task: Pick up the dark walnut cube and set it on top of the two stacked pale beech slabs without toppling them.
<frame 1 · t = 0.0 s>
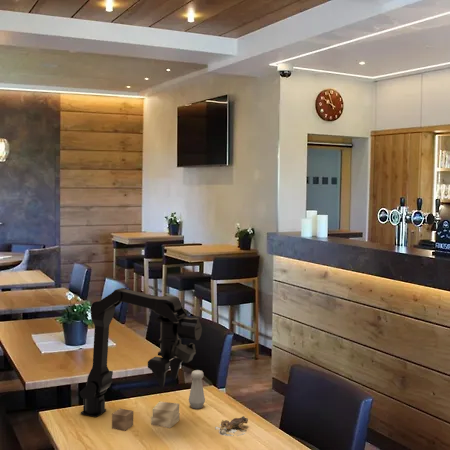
hand: (168, 383, 199), 15 cm above the table, fingers open, 9 cm apart
beech slab upper: (165, 415, 203), point 3 cm above the table, touching beech slab lower
salt shaker: (196, 407, 218), on the table
walnut cube: (122, 427, 199), on the table
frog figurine: (232, 430, 201), on the table
beech slab lower: (165, 423, 204), on the table, touching beech slab upper
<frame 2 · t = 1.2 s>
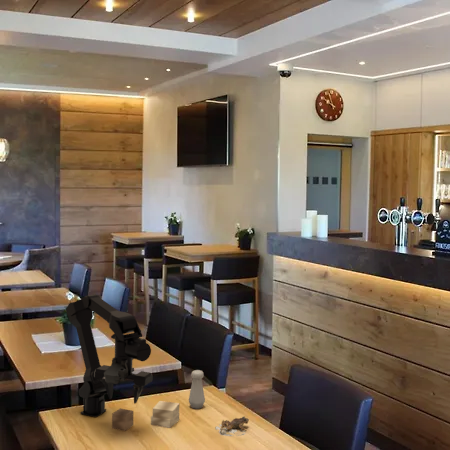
hand: (122, 400, 198), 9 cm above the table, fingers open, 9 cm apart
beech slab upper: (166, 414, 203), point 3 cm above the table
beech slab lower: (165, 423, 204), on the table
everything else where it was.
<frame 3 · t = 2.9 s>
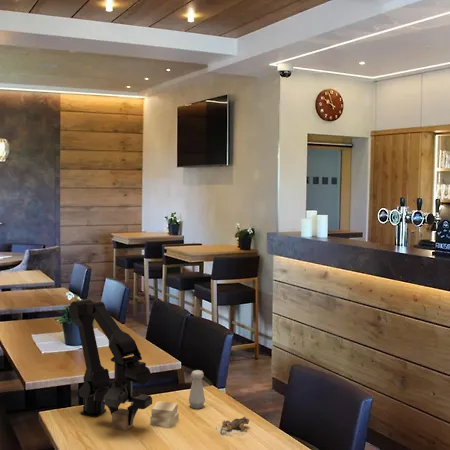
hand: (122, 423, 199), 1 cm above the table, fingers closed on walnut cube, 5 cm apart
beech slab upper: (164, 414, 203), point 3 cm above the table, touching beech slab lower
walnut cube: (122, 426, 199), on the table, touching gripper
beech slab lower: (164, 423, 203), on the table, touching beech slab upper
everything else where it was.
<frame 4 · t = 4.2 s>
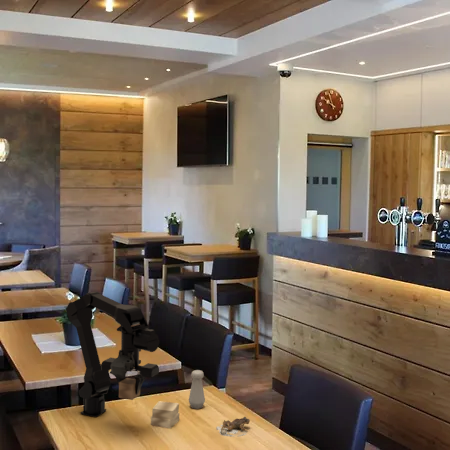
hand: (129, 393, 199), 11 cm above the table, fingers closed on walnut cube, 5 cm apart
beech slab upper: (165, 414, 203), point 3 cm above the table
walnut cube: (129, 396, 199), point 10 cm above the table, touching gripper
beech slab lower: (165, 423, 203), on the table
everything else where it was.
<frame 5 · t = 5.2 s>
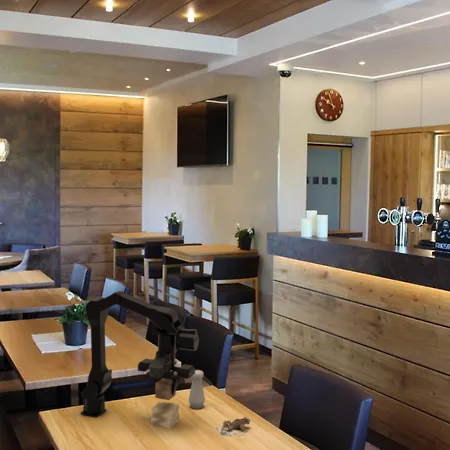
hand: (165, 393, 203), 10 cm above the table, fingers closed on walnut cube, 5 cm apart
walnut cube: (165, 396, 203), point 9 cm above the table, touching gripper
everything else where it was.
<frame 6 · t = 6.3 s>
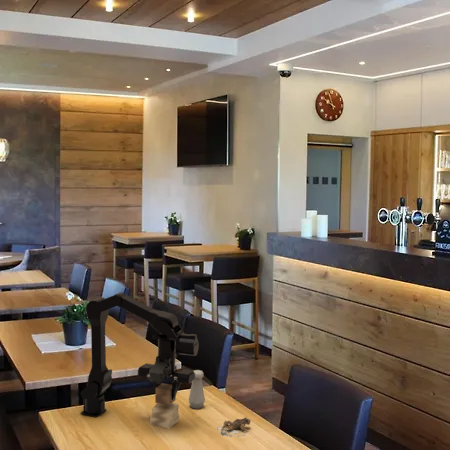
hand: (165, 398, 203), 8 cm above the table, fingers closed on walnut cube, 5 cm apart
walnut cube: (165, 401, 203), point 7 cm above the table, touching gripper
everything else where it was.
when the fingers open (8 cm above the table, at t = 6.3 s): walnut cube drops 2 cm, point 6 cm above the table.
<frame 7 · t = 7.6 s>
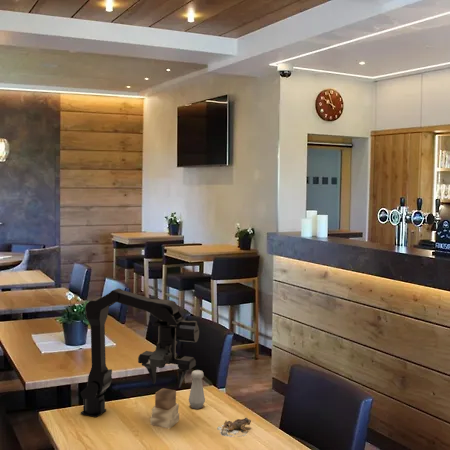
hand: (166, 385, 203), 13 cm above the table, fingers open, 9 cm apart
beech slab upper: (165, 415, 203), point 3 cm above the table, touching beech slab lower
walnut cube: (165, 406, 203), point 6 cm above the table
beech slab lower: (164, 423, 203), on the table, touching beech slab upper
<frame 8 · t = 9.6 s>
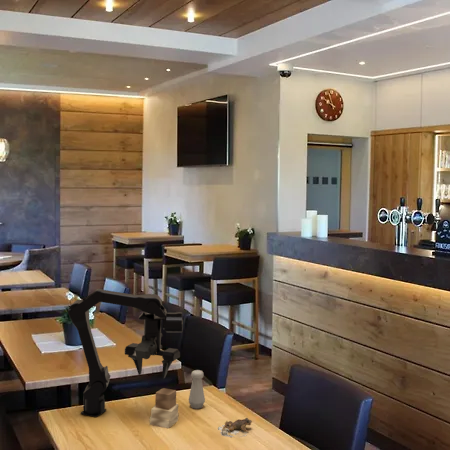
hand: (151, 376, 210), 13 cm above the table, fingers open, 9 cm apart
beech slab upper: (164, 415, 203), point 3 cm above the table, touching beech slab lower, walnut cube
walnut cube: (165, 406, 203), point 6 cm above the table, touching beech slab upper
at the end: walnut cube 0.4 cm off-centre on the beech slab lower, point 6.0 cm above the beech slab lower's base; beech slab upper tilted 0°; beech slab lower moved 0.6 cm from its start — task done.
